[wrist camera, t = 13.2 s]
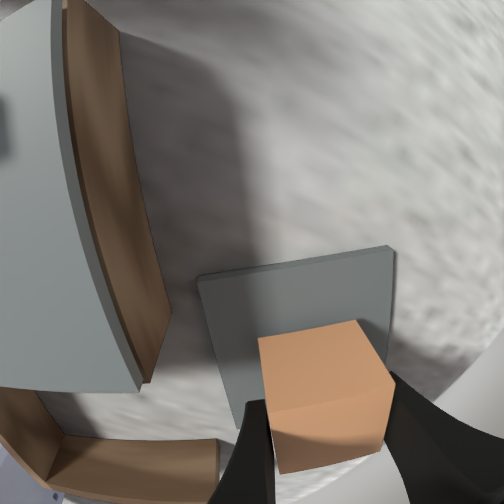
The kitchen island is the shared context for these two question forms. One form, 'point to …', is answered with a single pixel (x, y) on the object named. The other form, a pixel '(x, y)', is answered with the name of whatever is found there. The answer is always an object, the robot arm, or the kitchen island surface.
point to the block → (324, 395)
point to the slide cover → (49, 229)
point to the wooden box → (121, 292)
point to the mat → (292, 310)
